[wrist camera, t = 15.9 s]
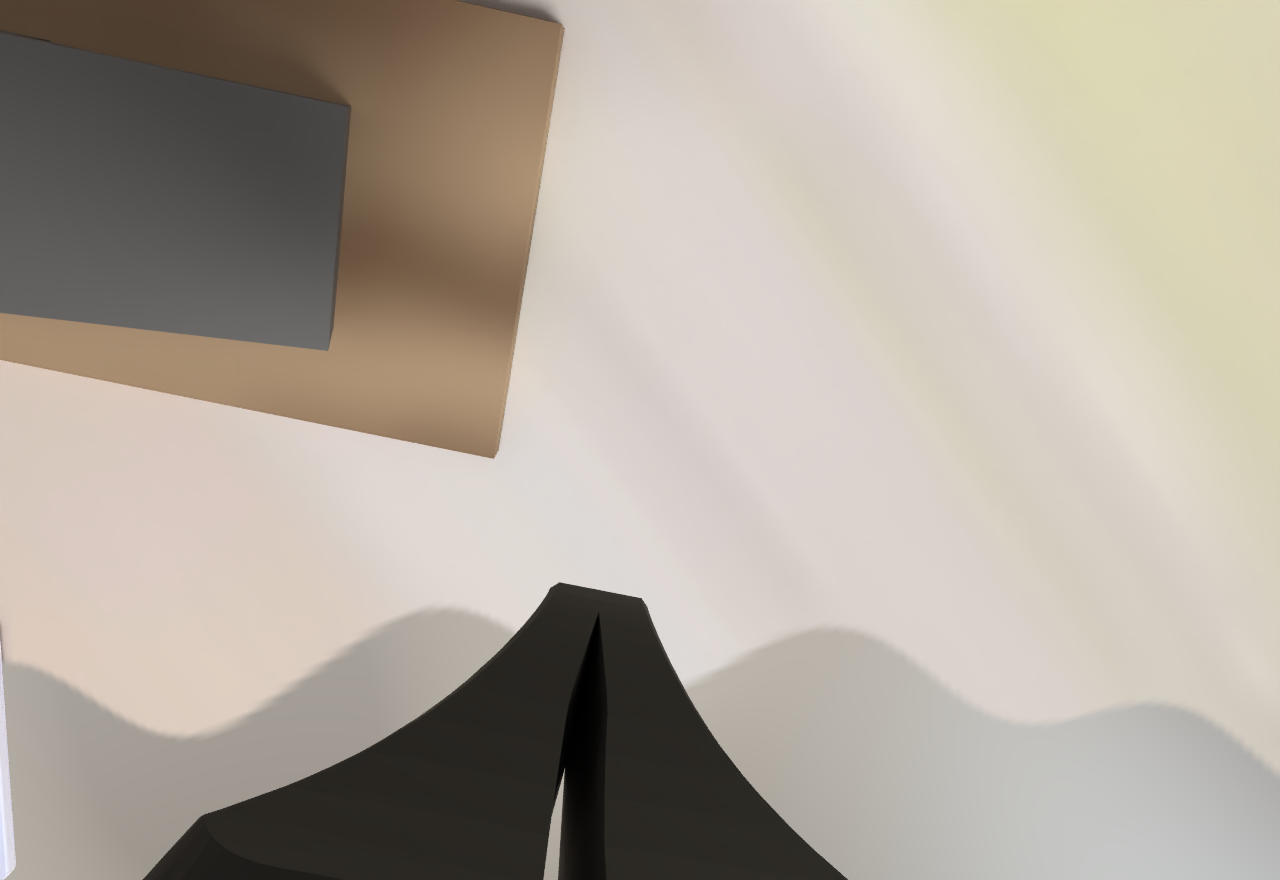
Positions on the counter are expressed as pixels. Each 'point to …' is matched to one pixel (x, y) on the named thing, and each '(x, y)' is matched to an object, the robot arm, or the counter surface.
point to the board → (354, 206)
